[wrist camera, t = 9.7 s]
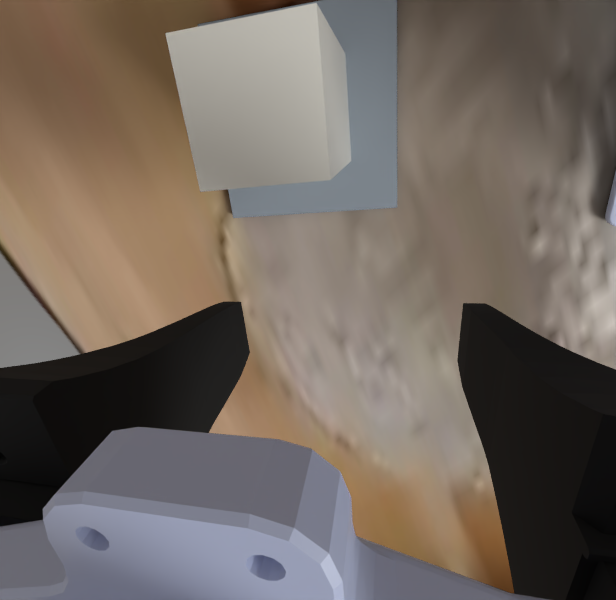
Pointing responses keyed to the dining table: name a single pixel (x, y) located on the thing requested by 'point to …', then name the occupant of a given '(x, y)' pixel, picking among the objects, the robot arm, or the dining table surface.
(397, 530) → the dining table surface
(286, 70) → the cream block
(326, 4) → the slate mat
